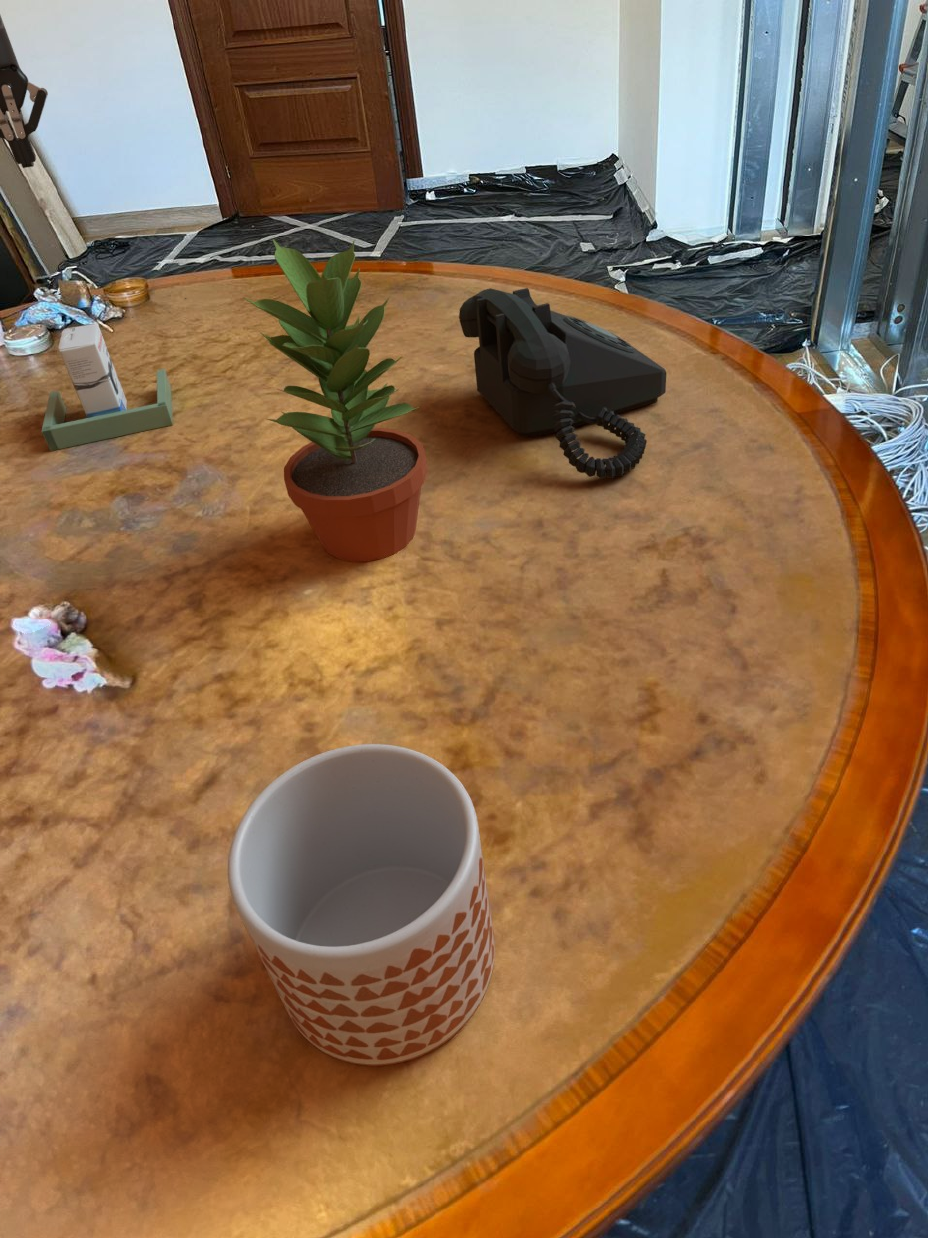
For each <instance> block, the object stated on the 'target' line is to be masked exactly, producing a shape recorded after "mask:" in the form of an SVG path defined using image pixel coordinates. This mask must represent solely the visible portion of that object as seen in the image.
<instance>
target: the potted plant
mask: <svg viewBox="0 0 928 1238" xmlns="http://www.w3.org/2000/svg"><path fill="white" fill-rule="evenodd" d="M271 240H272V242H273V245H274V248H275V251H274V253H273V254H274V259H275V261H276V263H277V265H278V266H279V267H280V269H281V271H282V272H283V274H284V276H285V277H286V279H287V280H288V282H289V283H290V285H291V287H292V288H293V290H294V292H295V293H296V295H297V296H298V298H299V300H300V302H301V303H302V305H303V306H304V308H305V309H306V311H307V313H308V314H307V313H305V312H303V311H301V310H299V309H298V308H296V307H295V306H291V305H290V304H288V303H284V302H282V301H279V300H275V299H271V298H262V299H259V300H255V301H254V300H251V299H248V298H247V297H243V299H244V300H246V301H247V302H249V303H250V304H252V305H253V306H254V307H256V308H258V309H259V310H261V311H263V312H265V313H267V314H269V315H270V316H271V317H274V318H276V319H278V323H279V325H280V327H281V328H282V329H283V330H284V331H285V333H286V334H287V335H286V334H281V335H276V336H271V337H270V336H268V335H267V334H265V333H262V332H259V334H261V335H262V336H263V337H264V338H265V339H266V340H267V341H268V343H269V345H271V346H272V347H274V348H275V349H277V350H278V351H280V353H282V354H283V355H285V356H286V357H288V358H289V359H291V360H292V361H294V362H295V363H296V364H297V365H299V366H301V367H302V368H304V369H305V370H307V371H308V372H309V373H311V374H312V375H314V376H315V377H317V379H318V383H319V386H320V390H321V392H322V393H320V392H317V391H314V390H312V389H309V388H306V387H302V386H298V385H287V386H285V387H284V388H283V390H282V389H279V388H276V390H278V391H280V392H282V393H286V394H289V395H291V396H294V397H297V398H299V399H302V400H304V401H308V402H311V403H313V404H316V405H319V406H321V407H324V408H326V409H329V410H330V413H331V416H332V417H329V416H326V415H322V414H317V413H311V412H307V411H306V412H305V411H290V412H289V411H288V412H283V411H281V413H282V414H281V415H280V416H279V417H278V418H277V419H275V418H274V419H273V418H266V420H268V421H271V422H274V423H276V424H279V425H281V426H285V427H289V428H292V429H293V430H295V432H297V433H298V434H300V435H301V436H303V437H304V438H306V439H307V440H309V441H310V442H309V443H307V444H305V445H303V446H301V447H300V448H299V449H298V450H297V451H295V453H293V454H292V455H291V456H290V457H289V459H288V460H287V462H286V464H285V466H284V467H283V481H284V484H285V488H286V492H287V495H288V497H289V499H290V501H291V502H292V503H293V504H294V505H295V506H296V507H297V508H299V509H300V510H301V512H302V513H303V515H304V517H305V518H306V520H307V521H308V523H309V524H310V527H311V528H312V530H313V531H314V533H315V535H316V536H317V538H318V540H319V542H320V544H321V545H322V547H323V548H324V550H325V551H326V552H327V554H328V555H331V556H332V557H334V558H336V559H338V560H341V561H346V562H350V563H352V562H353V563H354V562H355V563H366V562H367V563H368V562H372V561H377V560H378V561H379V560H381V559H384V558H387V557H390V556H393V555H395V554H397V553H398V552H400V551H402V550H403V549H404V548H406V547H407V546H408V545H409V544H410V543H411V541H413V539H414V536H415V534H416V529H417V523H418V516H419V509H420V508H419V507H420V501H421V494H422V488H423V487H422V486H423V485H424V484H425V481H426V478H427V476H428V473H429V471H428V464H427V456H426V452H425V449H424V445H423V443H422V442H420V440H418V439H417V438H416V437H415V436H414V435H412V434H409V433H406V432H404V431H401V430H399V429H393V428H387V427H386V428H385V427H375V426H376V425H377V424H380V423H383V422H386V421H389V420H392V419H394V418H399V417H402V416H403V415H407V414H408V413H410V412H413V411H415V410H417V409H420V408H421V406H417V407H413V406H412V405H411V404H410V403H408V402H400V403H395V404H391V405H389V406H388V403H389V401H390V399H391V395H393V394H395V393H396V392H397V391H399V390H400V389H398V388H397V389H396V386H394V385H393V384H391V385H388V381H387V382H386V383H385V384H384V385H383V386H382V387H381V388H377V389H371V390H369V386H370V385H372V384H373V383H374V382H375V381H376V380H377V379H378V378H380V377H381V376H382V375H384V374H385V373H386V372H387V371H388V370H389V369H391V368H392V367H393V366H394V365H395V364H396V363H397V362H399V361H400V360H401V359H402V358H403V356H400V357H399V358H397V360H395V359H394V358H391V357H390V358H385V359H383V360H381V361H379V362H378V363H377V364H376V365H374V366H373V367H372V368H370V369H369V370H366V369H367V368H366V367H367V365H368V363H369V358H370V355H371V352H370V349H369V348H367V347H368V345H369V344H370V342H371V341H372V339H373V338H374V337H375V335H376V333H377V331H378V330H379V328H380V326H381V324H382V323H383V320H384V318H385V312H386V305H387V304H388V302H389V300H390V299H391V296H389V297H388V298H387V299H386V300H385V301H384V302H383V304H381V305H377V306H374V307H373V308H372V309H370V310H369V311H368V312H367V314H366V315H365V316H364V317H363V318H362V319H361V320H360V315H358V316H357V319H356V320H355V322H354V323H353V324H350V325H348V322H349V320H350V317H351V315H352V311H353V310H354V306H355V304H356V301H357V299H358V296H359V293H360V291H361V288H362V281H361V279H360V271H361V268H360V267H359V269H358V270H357V272H356V273H355V274H354V276H353V277H350V274H351V271H352V267H353V265H354V262H355V259H356V253H355V251H354V250H355V249H354V248H355V242H356V241H355V239H354V240H353V242H352V243H351V245H350V247H349V249H348V250H344V251H340V252H338V253H336V254H334V255H332V256H331V257H330V258H329V259H328V261H327V263H326V264H325V266H324V269H323V272H321V276H320V274H319V273H318V271H317V269H316V268H315V266H314V265H313V264H312V263H311V261H310V260H309V259H308V258H307V257H306V256H305V255H304V254H303V253H302V252H301V251H299V250H297V249H295V248H291V247H283V246H281V245H279V244H278V242H277V241H275V239H274V238H273V237H271Z"/></svg>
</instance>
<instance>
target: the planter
mask: <svg viewBox="0 0 928 1238" xmlns="http://www.w3.org/2000/svg"><path fill="white" fill-rule="evenodd" d="M485 870H486V869H485V862H484V856H483V848H482V842H481V836H480V827H479V822H478V816H477V813H476V809H475V806H474V804H473V801H472V799H471V797H470V794H469V793H468V791H467V789H466V788H465V786H464V785H463V783H462V782H461V781H460V780H459V778H458V777H457V776H456V775H455V774H454V773H453V772H452V771H451V770H450V769H448V768H447V767H446V766H445V765H443V764H442V763H440V762H439V761H437V760H436V759H434V758H432V757H431V756H429V755H426V754H425V753H422V752H419V751H417V750H414V749H410V748H407V747H404V746H399V745H391V744H381V743H380V744H379V743H365V744H363V743H362V744H355V745H348V746H343V747H337V748H334V749H330V750H327V751H324V752H322V753H319V754H316V755H314V756H312V757H309V758H307V759H305V760H303V761H301V762H299V763H297V764H295V765H293V766H292V767H291V768H289V769H287V770H286V771H285V772H283V773H282V774H281V775H279V776H277V777H276V778H275V779H273V780H272V782H270V783H269V784H268V785H267V786H266V787H265V788H263V790H262V791H261V792H260V793H259V794H258V795H257V797H256V798H255V799H253V801H252V803H251V804H250V805H249V807H248V808H247V809H246V811H245V813H244V814H243V816H242V818H241V819H240V821H239V823H238V825H237V827H236V830H235V832H234V834H233V838H232V840H231V844H230V848H229V853H228V860H227V882H228V889H229V892H230V895H231V899H232V902H233V904H234V906H235V909H236V911H237V913H238V915H239V917H240V920H241V922H242V924H243V926H244V927H245V930H246V932H247V934H248V936H249V938H250V940H251V941H252V944H253V946H254V948H255V950H256V952H257V954H258V956H259V959H260V960H261V962H262V964H263V966H264V968H265V970H266V972H267V974H268V976H269V978H270V981H271V983H272V985H273V987H274V988H275V991H276V993H277V995H278V997H279V999H280V1001H281V1003H282V1004H283V1007H284V1009H285V1011H286V1013H287V1015H288V1016H289V1018H290V1020H291V1022H292V1023H293V1025H294V1027H295V1028H296V1029H297V1031H299V1033H300V1034H301V1035H302V1036H303V1037H304V1038H305V1039H306V1040H307V1042H309V1043H310V1044H311V1045H312V1046H314V1047H315V1048H317V1049H318V1050H319V1051H321V1052H323V1053H324V1054H326V1055H328V1056H330V1057H332V1058H334V1059H337V1060H339V1061H342V1062H346V1063H349V1064H353V1065H358V1066H359V1065H360V1066H371V1067H376V1066H377V1067H379V1066H391V1065H397V1064H401V1063H404V1062H408V1061H412V1060H415V1059H417V1058H420V1057H422V1056H424V1055H427V1054H428V1053H430V1052H432V1051H434V1050H436V1049H437V1048H439V1047H441V1046H442V1045H444V1044H445V1043H446V1042H447V1041H449V1040H450V1039H452V1038H453V1037H454V1036H455V1035H456V1034H457V1033H458V1032H460V1030H461V1029H462V1028H463V1027H464V1026H465V1025H466V1024H467V1023H468V1021H470V1019H471V1018H472V1017H473V1016H474V1014H475V1013H476V1012H477V1010H478V1009H479V1006H480V1005H481V1003H482V1001H483V1000H484V997H485V995H486V993H487V990H488V988H489V986H490V982H491V979H492V977H493V970H494V965H495V955H496V943H495V933H494V925H493V919H492V911H491V904H490V899H489V898H490V897H489V891H488V890H489V889H488V885H487V883H488V882H487V878H486V877H487V876H486V871H485Z"/></svg>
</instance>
